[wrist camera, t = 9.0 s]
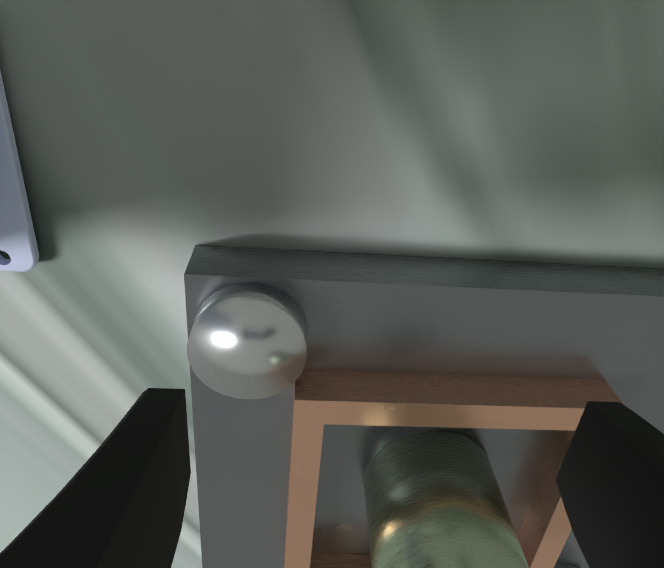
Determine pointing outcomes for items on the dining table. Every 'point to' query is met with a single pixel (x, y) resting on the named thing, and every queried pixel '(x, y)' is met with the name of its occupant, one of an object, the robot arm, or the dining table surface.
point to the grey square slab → (398, 386)
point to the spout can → (437, 506)
